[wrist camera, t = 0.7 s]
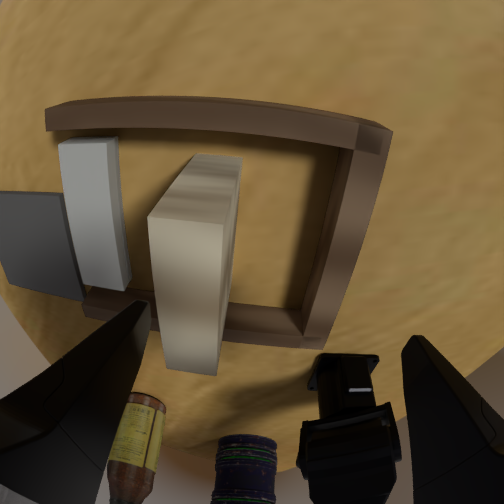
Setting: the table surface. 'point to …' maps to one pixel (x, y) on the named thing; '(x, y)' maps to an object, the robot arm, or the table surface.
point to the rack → (269, 124)
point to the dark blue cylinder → (245, 470)
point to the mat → (38, 244)
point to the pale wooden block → (195, 260)
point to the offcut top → (94, 210)
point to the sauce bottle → (136, 450)
